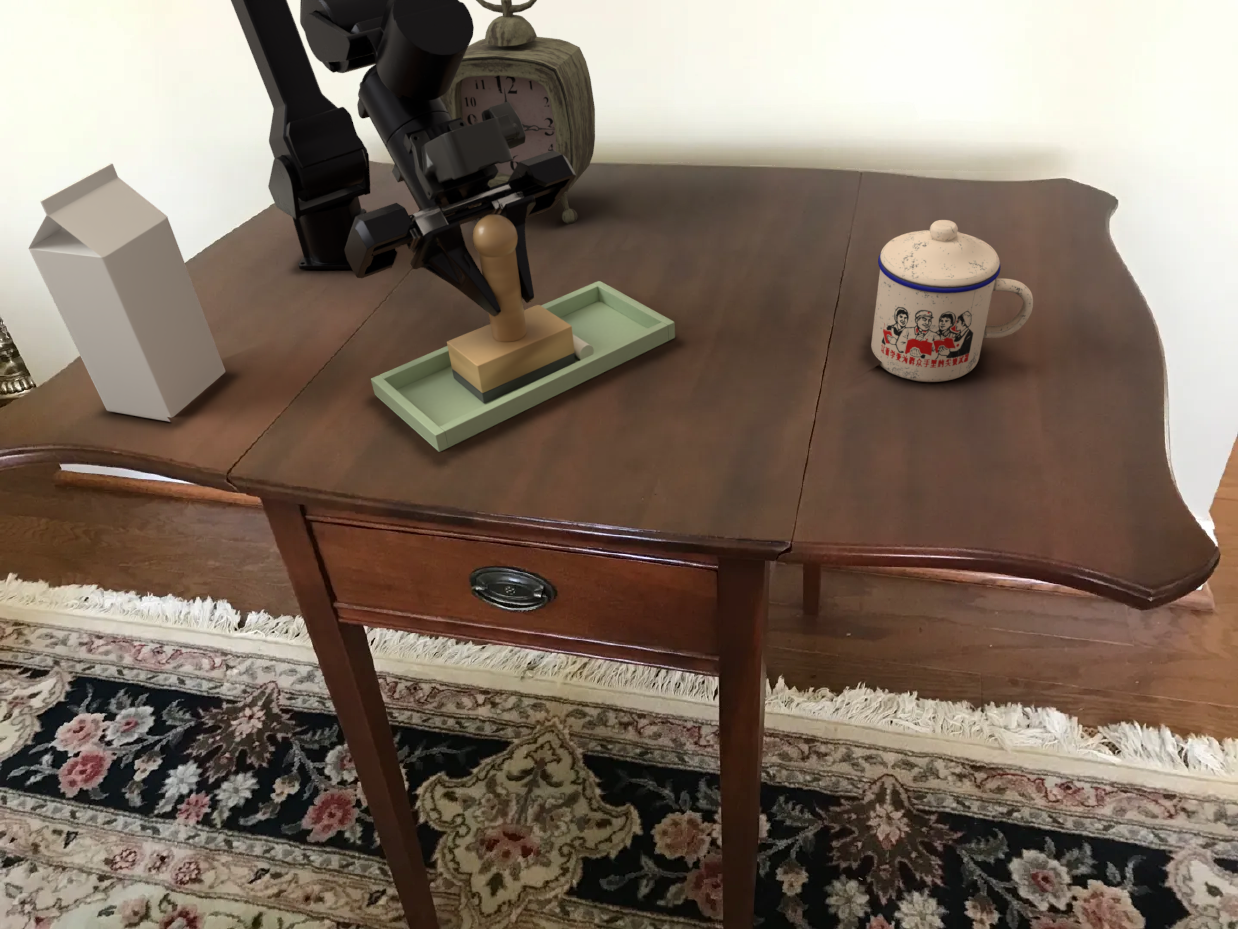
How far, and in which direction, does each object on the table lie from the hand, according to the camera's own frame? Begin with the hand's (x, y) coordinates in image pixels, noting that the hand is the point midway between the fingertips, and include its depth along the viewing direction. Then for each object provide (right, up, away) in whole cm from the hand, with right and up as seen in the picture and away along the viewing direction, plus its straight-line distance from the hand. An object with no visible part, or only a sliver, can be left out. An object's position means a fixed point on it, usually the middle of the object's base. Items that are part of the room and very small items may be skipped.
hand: (514, 307), depth 75 cm
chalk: (+3, -2, +7) cm, 8 cm away
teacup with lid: (+35, -4, +4) cm, 35 cm away
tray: (+1, -5, +6) cm, 8 cm away
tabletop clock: (-1, +16, +32) cm, 36 cm away
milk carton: (-30, -7, +7) cm, 32 cm away
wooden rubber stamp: (0, -4, +5) cm, 7 cm away
